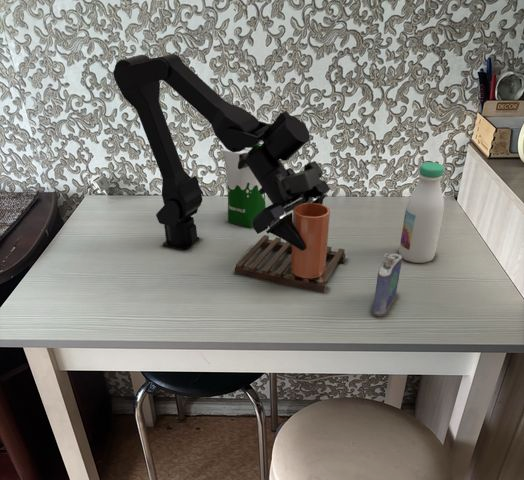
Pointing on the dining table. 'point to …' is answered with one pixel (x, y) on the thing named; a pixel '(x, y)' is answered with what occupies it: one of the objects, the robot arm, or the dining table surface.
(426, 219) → the milk bottle
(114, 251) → the dining table surface
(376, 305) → the flask
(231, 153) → the milk carton
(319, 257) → the tumbler
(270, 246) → the drying rack
